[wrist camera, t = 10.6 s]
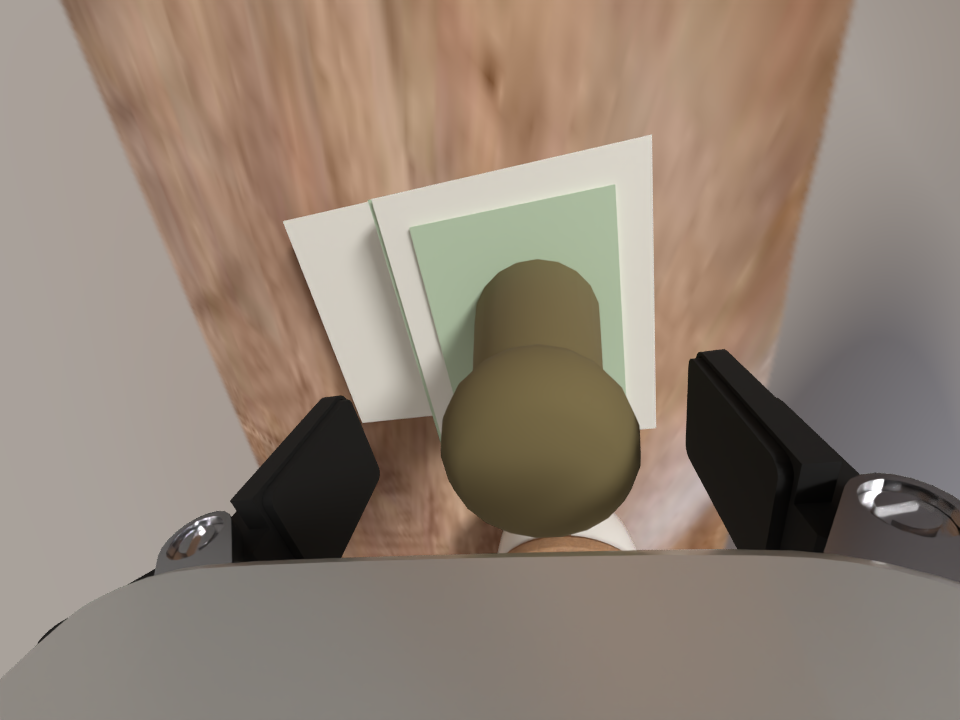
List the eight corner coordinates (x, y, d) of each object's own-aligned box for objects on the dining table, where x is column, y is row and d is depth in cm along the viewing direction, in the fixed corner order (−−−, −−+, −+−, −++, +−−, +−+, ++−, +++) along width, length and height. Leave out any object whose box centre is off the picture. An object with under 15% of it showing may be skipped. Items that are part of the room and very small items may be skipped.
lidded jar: (536, 566, 36) (537, 683, 28) (477, 489, 33) (458, 596, 25) (647, 535, 33) (685, 659, 24) (594, 445, 29) (617, 553, 21)
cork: (522, 396, 20) (510, 601, 11) (449, 309, 19) (357, 456, 9) (624, 335, 18) (729, 522, 8) (553, 230, 17) (579, 312, 7)
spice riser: (310, 216, 24) (236, 230, 18) (619, 145, 21) (654, 133, 15) (377, 400, 30) (338, 457, 24) (629, 372, 26) (657, 431, 20)
